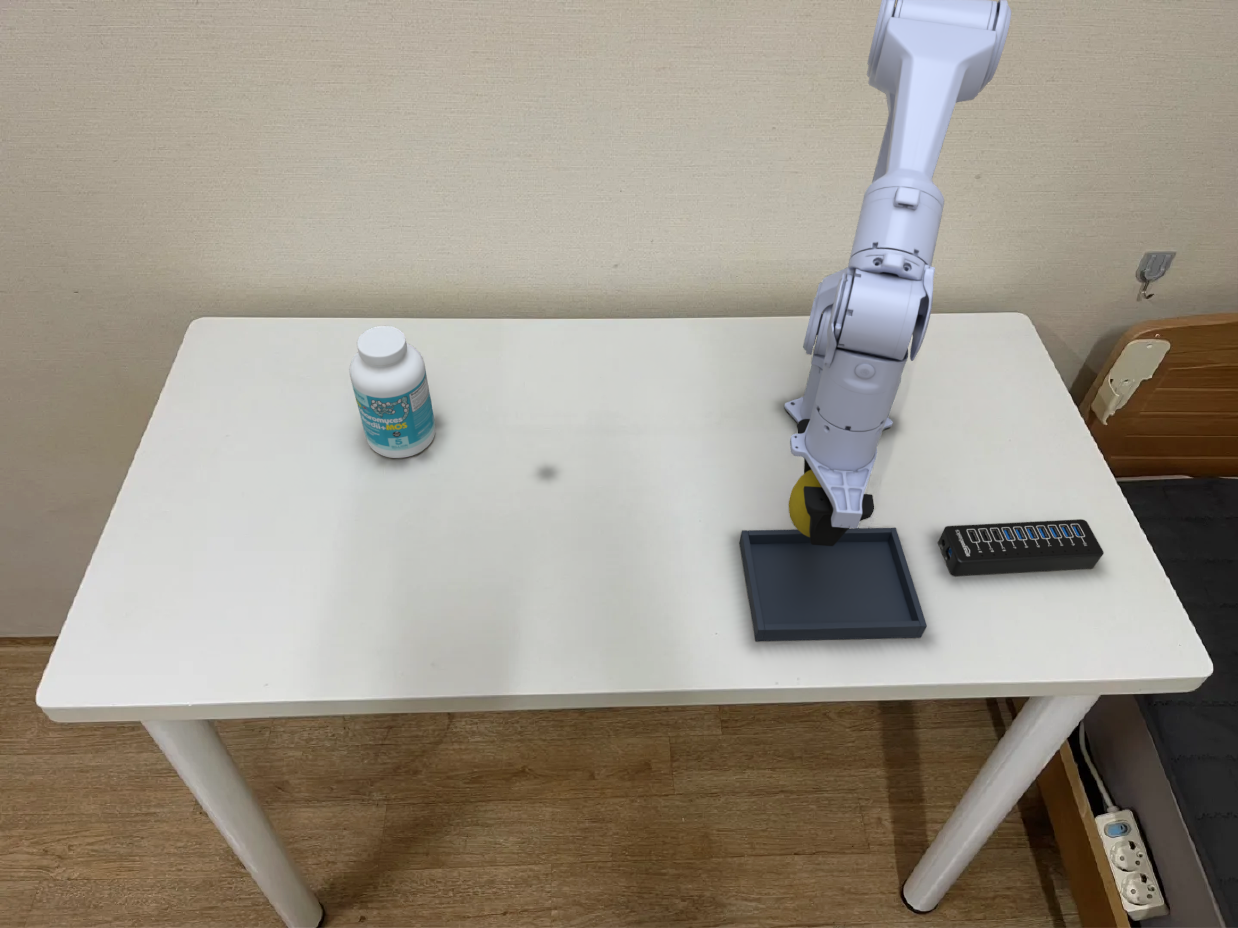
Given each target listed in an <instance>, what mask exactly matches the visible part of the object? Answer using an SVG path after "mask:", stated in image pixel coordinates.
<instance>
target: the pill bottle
mask: <svg viewBox="0 0 1238 928" xmlns="http://www.w3.org/2000/svg"><path fill="white" fill-rule="evenodd" d="M406 339H407V338H406V335H405V333H404V332H403V331H402V330H401V329H399V328H397V327H396V326H395V327H394V326H392V325H377V326H373V327H371V328H368V329H365V330H364V331H363V332H362V333H361V334H360V335H359V336H358V338H357V341H356V347H357V352H356V353H355V354H354V356H353V357H352V359H351V361H350V363H349V369H348V370H349V371H348V373H349V377H350V383H351V386H352V390H353V393H354V397H355V402H356V405H357V409H358V411H359V416H360V420H361V424H362V428H363V431H364V435H365V440H366V441H367V444H368V446H369V447H370V449H372V450H373V451H374V452H376V453H377V454H379V455H381V456H383V457H385V458H391V459H403V458H409V457H412V456H414V455H417V454H419V453H421V452H422V451H424V450H425V449H426V448H427V447H429V445H430V444H431V443H432V441H433V440H434V438H435V435H436V422H435V415H434V409H433V404H432V399H431V393H430V387H429V386H430V385H429V381H428V375H427V371H426V365H425V364H426V363H425V361H424V357H423V355H422V353H421V352H420V351H419V350H418V349H417V348H416V347H415V346H414V345H412V344H410V343H408V342H407V340H406Z"/></svg>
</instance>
